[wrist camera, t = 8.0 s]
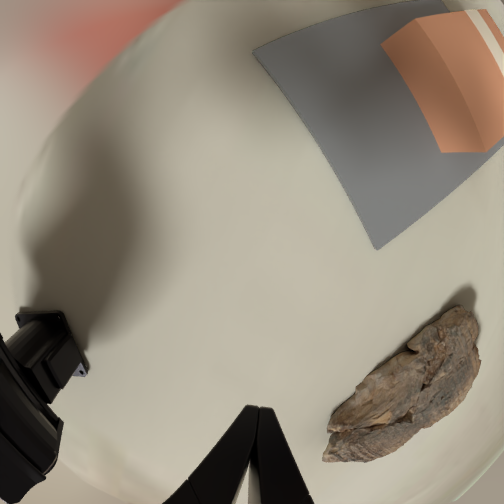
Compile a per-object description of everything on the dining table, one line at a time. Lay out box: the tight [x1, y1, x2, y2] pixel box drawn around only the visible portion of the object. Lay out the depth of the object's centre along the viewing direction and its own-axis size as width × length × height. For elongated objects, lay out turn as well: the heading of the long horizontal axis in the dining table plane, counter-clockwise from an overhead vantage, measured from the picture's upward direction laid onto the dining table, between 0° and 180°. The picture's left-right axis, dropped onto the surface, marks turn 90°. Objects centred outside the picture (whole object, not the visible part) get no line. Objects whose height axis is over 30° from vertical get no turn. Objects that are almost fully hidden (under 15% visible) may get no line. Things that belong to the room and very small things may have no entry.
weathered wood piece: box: [322, 305, 481, 463], centre depth 21 cm, size 14×5×20 cm
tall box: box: [380, 9, 504, 153], centre depth 13 cm, size 5×10×12 cm
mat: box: [252, 0, 504, 250], centre depth 16 cm, size 22×16×1 cm
